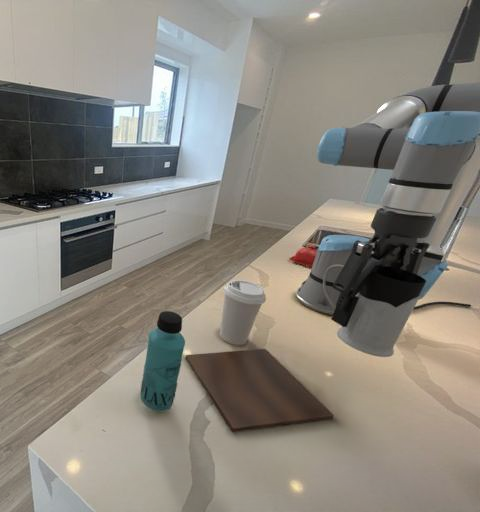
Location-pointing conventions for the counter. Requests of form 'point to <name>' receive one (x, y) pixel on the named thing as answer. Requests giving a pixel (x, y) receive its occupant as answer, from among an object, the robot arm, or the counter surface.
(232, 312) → the coffee cup
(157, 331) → the beverage bottle
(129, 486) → the counter surface
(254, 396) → the walnut board
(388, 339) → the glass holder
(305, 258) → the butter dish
